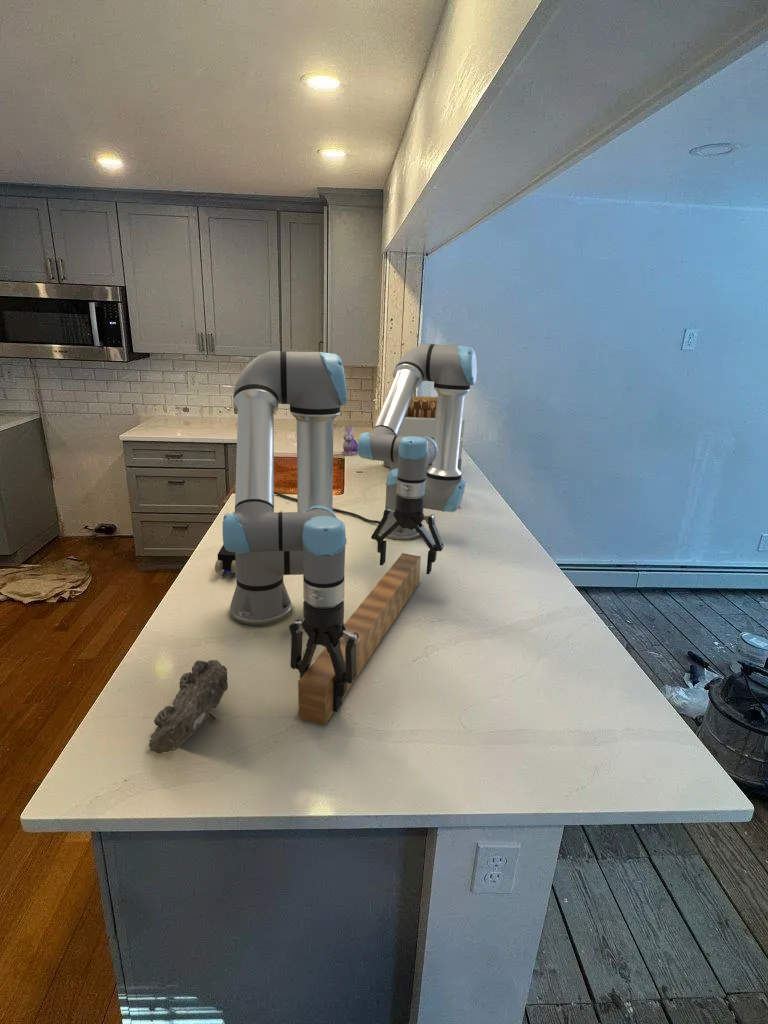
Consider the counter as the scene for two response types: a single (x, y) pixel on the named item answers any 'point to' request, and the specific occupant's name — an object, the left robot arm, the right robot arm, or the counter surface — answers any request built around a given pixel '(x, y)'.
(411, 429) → the grey wooden crate
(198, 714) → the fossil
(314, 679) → the post
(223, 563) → the black toy vehicle
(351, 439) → the figurine
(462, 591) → the counter surface
